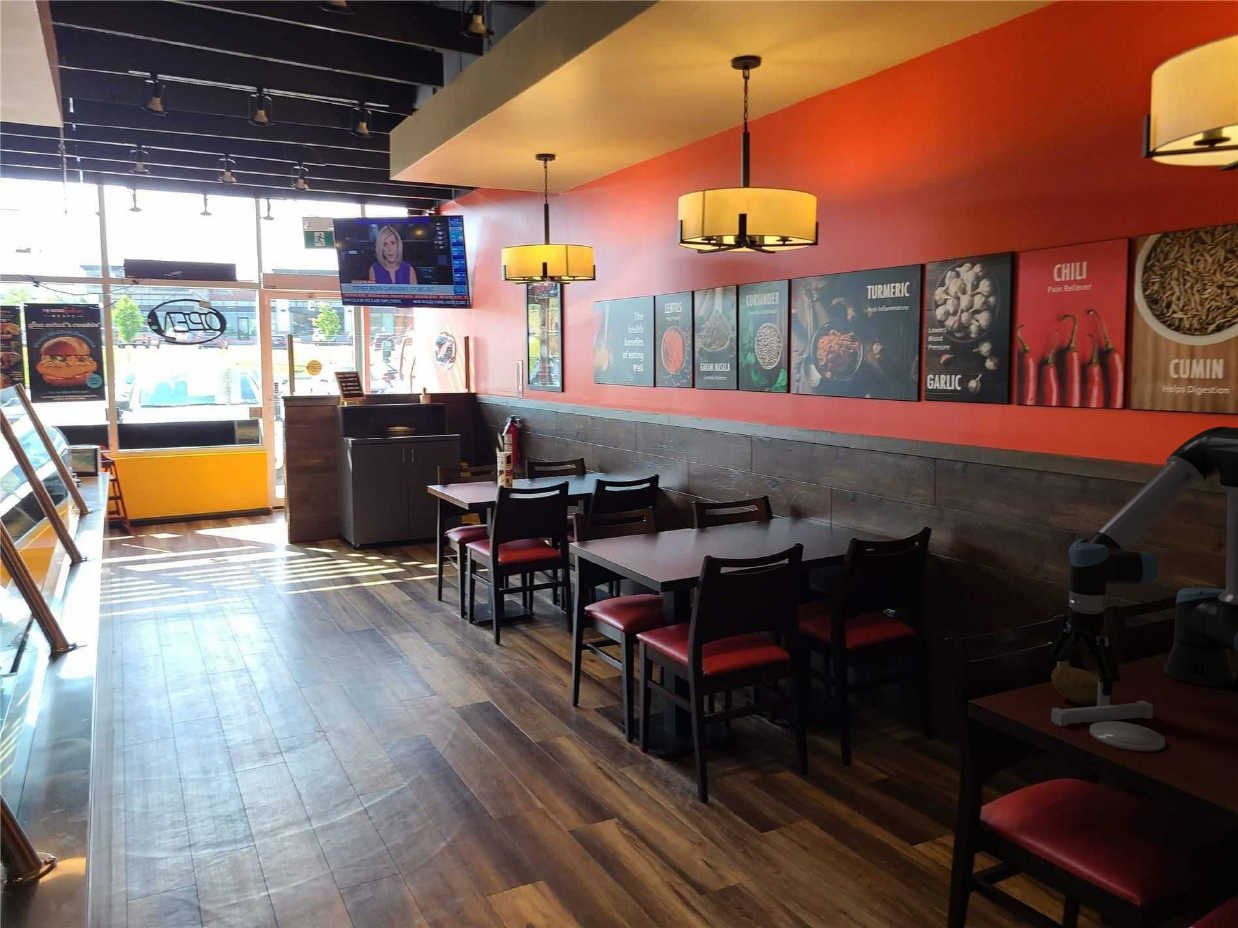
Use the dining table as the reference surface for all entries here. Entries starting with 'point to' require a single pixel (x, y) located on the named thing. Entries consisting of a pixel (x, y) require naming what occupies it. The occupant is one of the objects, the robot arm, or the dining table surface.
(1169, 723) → the dining table surface
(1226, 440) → the robot arm
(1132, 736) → the plate
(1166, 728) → the dining table surface
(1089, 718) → the rail
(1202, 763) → the dining table surface
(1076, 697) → the potato
